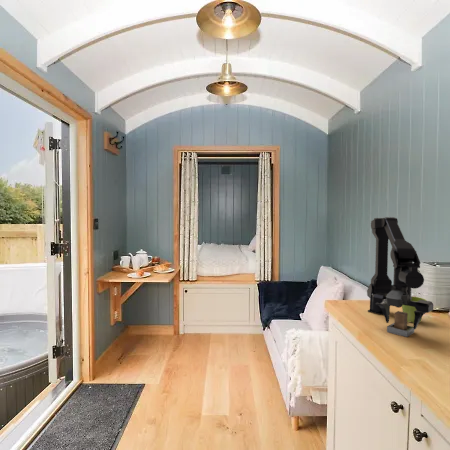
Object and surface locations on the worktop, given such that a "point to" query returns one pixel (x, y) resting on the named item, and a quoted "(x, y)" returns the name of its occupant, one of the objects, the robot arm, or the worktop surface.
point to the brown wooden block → (400, 320)
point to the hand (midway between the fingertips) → (400, 325)
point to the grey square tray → (400, 330)
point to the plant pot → (411, 310)
